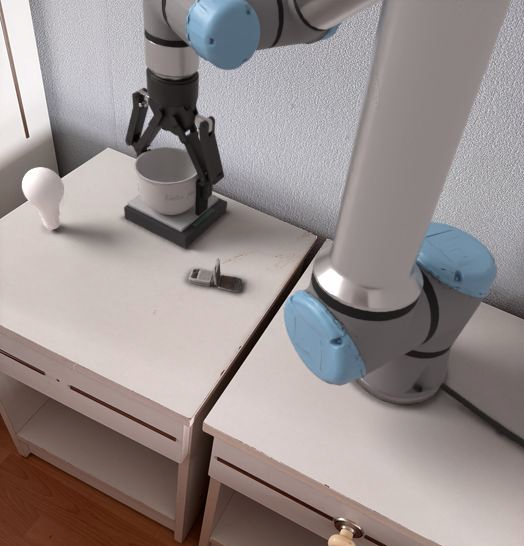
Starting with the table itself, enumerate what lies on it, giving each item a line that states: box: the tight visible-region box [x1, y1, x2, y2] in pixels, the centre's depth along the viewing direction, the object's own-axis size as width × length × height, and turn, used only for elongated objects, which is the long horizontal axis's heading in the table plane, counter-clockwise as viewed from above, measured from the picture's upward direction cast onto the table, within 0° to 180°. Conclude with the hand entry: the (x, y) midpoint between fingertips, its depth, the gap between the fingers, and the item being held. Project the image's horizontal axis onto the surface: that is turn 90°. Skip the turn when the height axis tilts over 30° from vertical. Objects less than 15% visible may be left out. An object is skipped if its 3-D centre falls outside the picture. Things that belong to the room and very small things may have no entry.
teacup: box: [133, 146, 200, 215], centre depth 88 cm, size 14×11×8 cm
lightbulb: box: [21, 166, 65, 230], centre depth 83 cm, size 6×6×11 cm
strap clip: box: [188, 257, 243, 293], centre depth 82 cm, size 8×3×4 cm, turn 81°
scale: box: [123, 193, 228, 250], centre depth 92 cm, size 13×13×3 cm
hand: (174, 198), depth 91 cm, fingers closed on teacup, 11 cm apart
